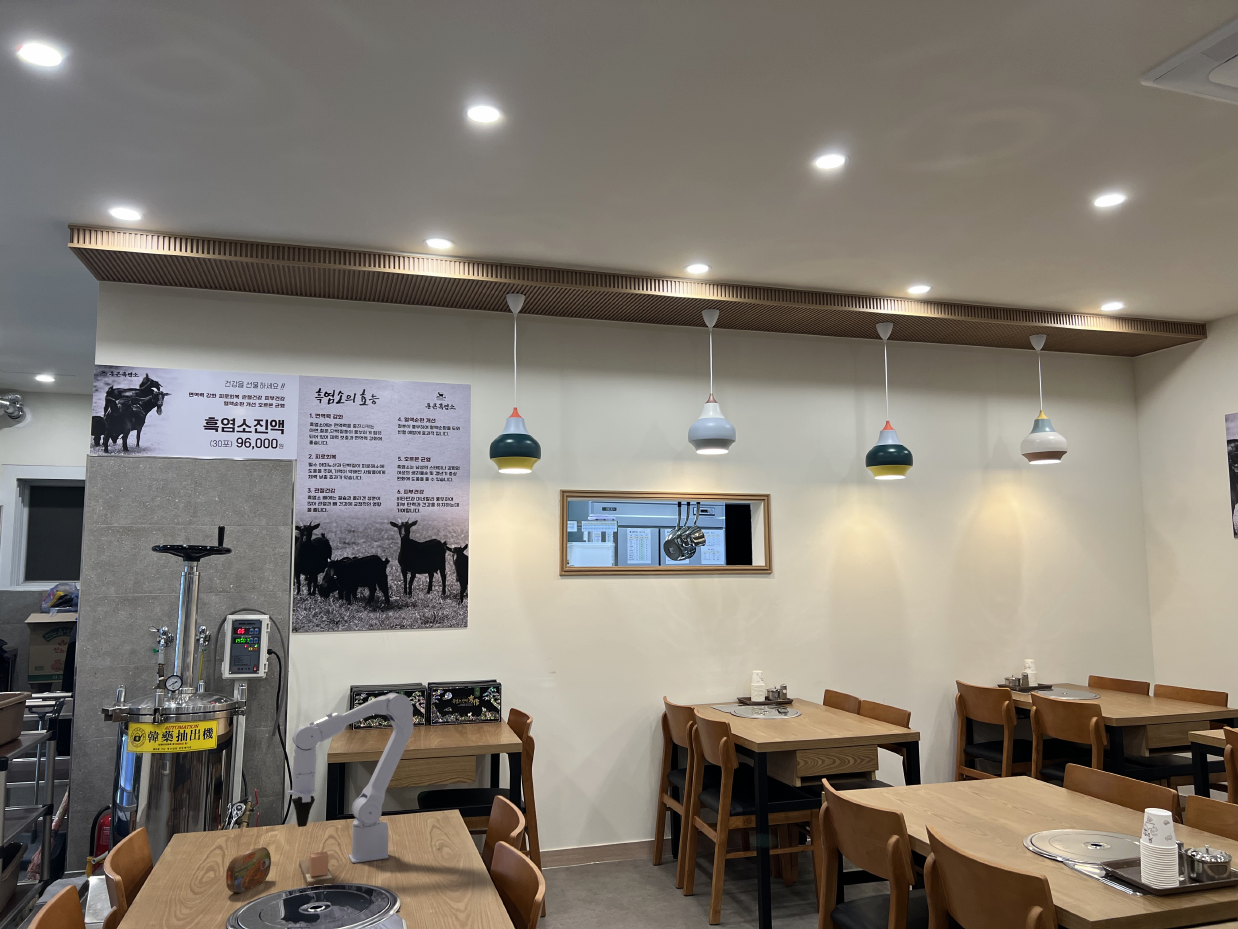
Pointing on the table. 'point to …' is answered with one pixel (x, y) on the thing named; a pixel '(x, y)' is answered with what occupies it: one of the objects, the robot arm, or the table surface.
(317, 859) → the slider
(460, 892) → the table surface
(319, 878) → the track
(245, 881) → the tin
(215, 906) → the table surface
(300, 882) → the table surface
